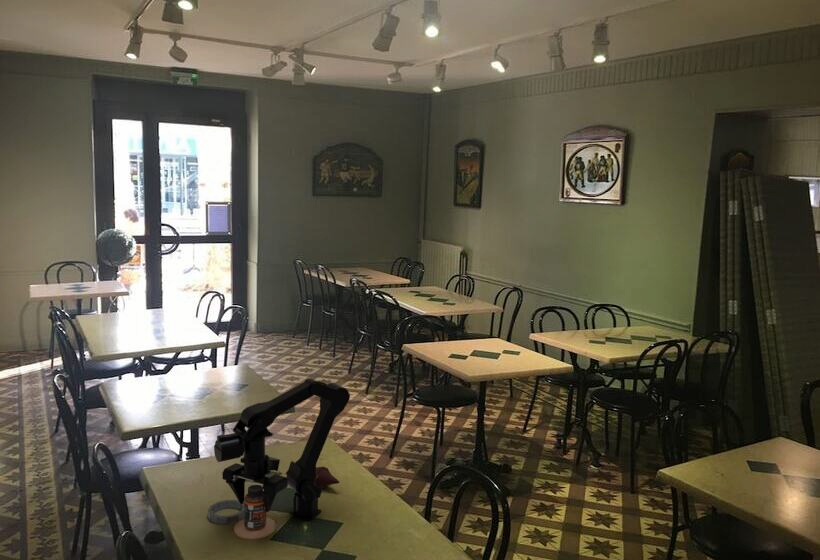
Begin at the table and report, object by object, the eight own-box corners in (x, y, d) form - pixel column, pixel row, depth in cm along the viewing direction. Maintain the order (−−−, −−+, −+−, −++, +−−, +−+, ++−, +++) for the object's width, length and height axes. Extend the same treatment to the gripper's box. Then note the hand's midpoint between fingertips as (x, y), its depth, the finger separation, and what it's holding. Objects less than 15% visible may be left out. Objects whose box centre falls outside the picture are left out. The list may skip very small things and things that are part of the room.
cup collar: (253, 511, 192) (253, 505, 191) (228, 527, 182) (228, 520, 182) (226, 503, 196) (226, 496, 196) (200, 518, 187) (200, 511, 187)
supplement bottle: (253, 534, 178) (253, 494, 176) (239, 526, 181) (239, 488, 180) (270, 525, 183) (270, 487, 181) (256, 518, 186) (256, 480, 185)
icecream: (348, 469, 207) (313, 461, 216) (332, 471, 201) (297, 462, 210) (345, 492, 206) (310, 483, 215) (329, 494, 200) (294, 485, 209)
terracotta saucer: (283, 525, 184) (283, 522, 184) (256, 543, 175) (256, 540, 175) (253, 515, 190) (253, 512, 189) (225, 532, 180) (225, 529, 180)
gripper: (300, 450, 182) (300, 503, 184) (248, 437, 191) (248, 488, 193) (274, 464, 172) (274, 520, 174) (220, 450, 181) (221, 503, 183)
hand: (254, 507), depth 181 cm, fingers open, 9 cm apart
